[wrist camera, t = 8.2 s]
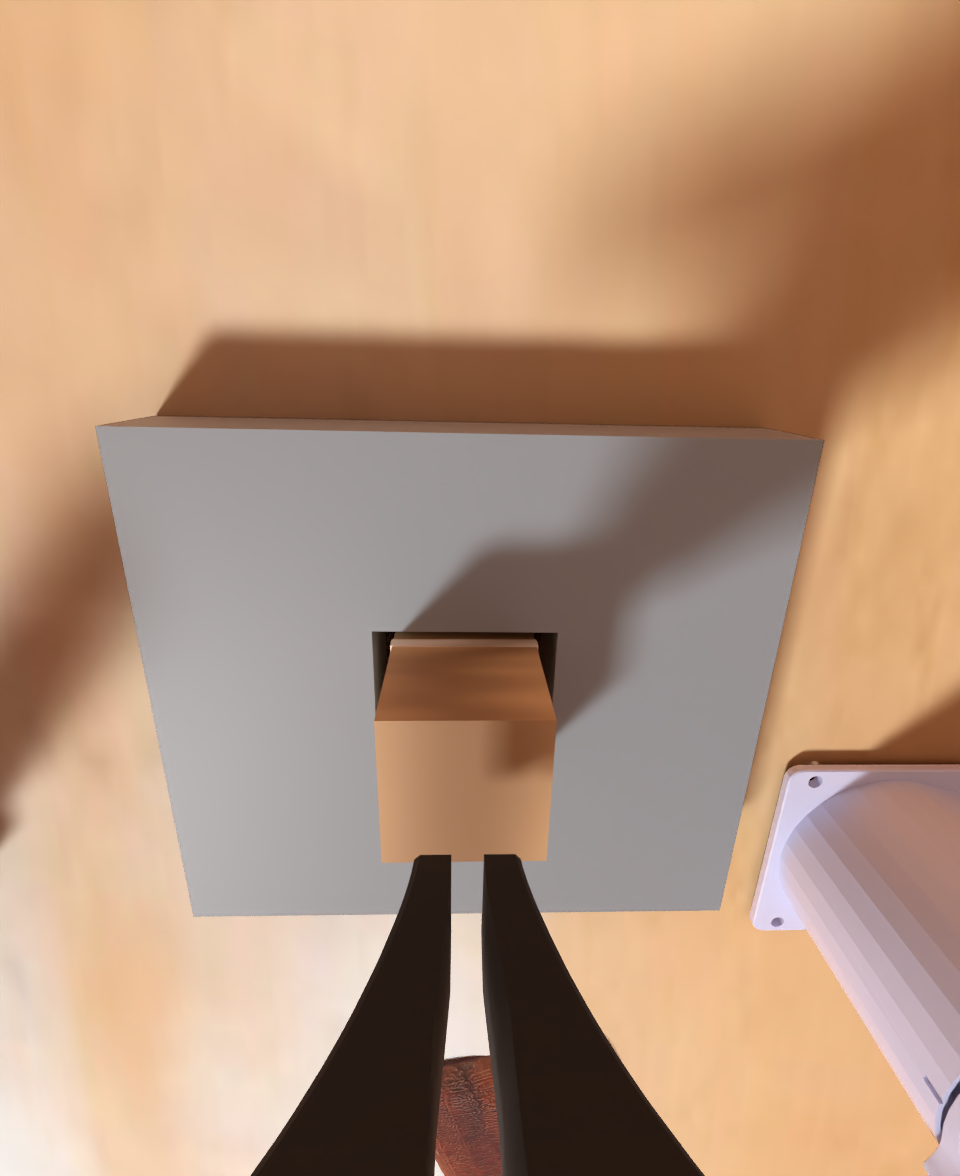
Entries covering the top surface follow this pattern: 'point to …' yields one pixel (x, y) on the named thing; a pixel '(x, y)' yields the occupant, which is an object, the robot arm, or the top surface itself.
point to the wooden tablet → (468, 1120)
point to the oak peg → (464, 747)
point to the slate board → (454, 604)
